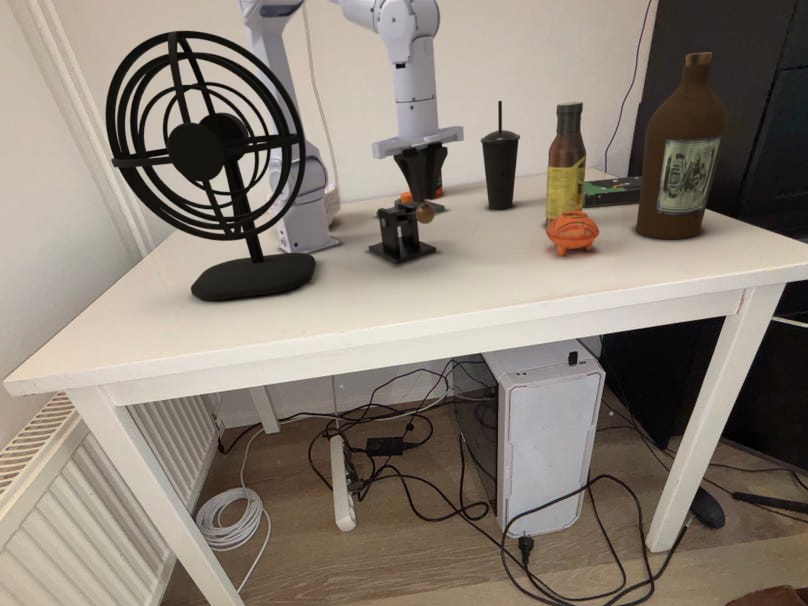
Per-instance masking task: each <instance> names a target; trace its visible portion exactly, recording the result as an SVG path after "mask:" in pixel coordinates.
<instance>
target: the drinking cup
mask: <svg viewBox="0 0 808 606" xmlns="http://www.w3.org/2000/svg"><path fill="white" fill-rule="evenodd" d="M497 111H498V112H497V114H498V115H497V117H498V119H497V121H498V123H497V124H498V125H497V126H498V127H497V128H498V129H497V130H494V131H492V132H490V133H487V134H486V135H485V136H484V137H481V138H480V143H481V146H482V147H481V148H482V155H483V165H484V174H485V184H486V193H487V202H488V209H489V210H491V211H506V210H509V209H512V207H513V201H514V192H515V182H516V171H517V160H518V150H519V141H520V139H521V135H520V134H519V133H516V132H513V131H511V130H507V129H503V100H498V102H497Z"/></svg>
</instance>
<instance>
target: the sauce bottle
mask: <svg viewBox="0 0 808 606" xmlns="http://www.w3.org/2000/svg"><path fill="white" fill-rule="evenodd" d="M583 110H584V102H583V101H569V102H563V103H558V104H557V105H556V112H555V114H556V117H557V120H556V121H557V122H556V131H555V133H556V135H555V137H554V139H553V141H551V144H550V146H549V149H548V161H547V162H548V163H547V171H546V192H545V194H546V195H545V196H546V198H545V217H546V218H545V225H546V227H547V226H548V225H549V224H550V223H551V222H552V221H553V220H554V219H555V218H557V217H559V216H561V215H562V213H563V212H564V213H565V212H569V211H581V212H583V206H582V205H583V192H584V182H585V179H586V165H587V150H586V147H585V144H584V138H583V135H582V132H581V125H582V124H581V123H582V114H583Z"/></svg>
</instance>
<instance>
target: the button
mask: <svg viewBox="0 0 808 606" xmlns="http://www.w3.org/2000/svg"><path fill="white" fill-rule="evenodd" d="M399 196H400V198H401V203H412V202H414V201H413V198H412V195H411V192H410V191H405V192H402V193H400V194H399Z"/></svg>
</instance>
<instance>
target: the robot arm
mask: <svg viewBox="0 0 808 606" xmlns="http://www.w3.org/2000/svg"><path fill="white" fill-rule="evenodd" d="M326 1H327V2H330V3H332V4H335V5H338V6H340V9H341V12H342V15H343V17H344V18H345V19H346V20H347V21H349V22H351V23H353V24H355V25H357V26H360V27H362V28H364V29H366V30H368V31H371V32H373V33H375V34H377V35H379V36H380V39H381V40H382V42H383V43H384V44H385V47H386V50H387V58H388V59H389V62H390V63H391V64H390V65H391V74H392V84H393V93H394V101H395V103H394V105H395V112H396V122H397V130H398V131H397V133H398V135H397V136H394V137H390V138H387V139H384V140H380V141H375V142H372V143H371V151H372V158H373V159H377V160H383V159H386V158H387V157H391V156H392V157H393V161H394V162H395V164H396V165H397V166H398V168H399V170H400V172H401V173H402V175H403V177H404V179H405V181H406V184H407V187H408V189H409V192H411V195H412V198H413V201H414V202H417V203H423V202H424V198H426V199H427V200H430V201H432V200H436V198H435V196H436V189H437V184H438V179H439V175H440V172H441V170H442V168H443V165H444V164H445V161H446V159H447V156H448V154H449V151H448V146H443V145H444V144H451V143H454V142H463V141H465V136H464V135H465V134H464V126H463V125H453V126H447V127H439V116H438V113H439V112H438V100H437V97H438V96H437V82H436V67H435V65H436V64H435V54H434V53H435V50H434V39H435V38H436V36H437V34H438V33H439V30H440V25H441V11H440V6H439V4H438V2H437V0H326ZM236 2H237V4H238V8H239V12H240V16H241V19H242V23H243V25H244V30H245V35H246V38H247V42H248V46H249V49H250V52H251V53H252V54H254V55H255V56H256V57H257V58H259V59H260V60H261V61H262V62H263V63H264V64H265V65H266V66H267V67H268V68H269V69H270V70H271V71H272V72H273V73H274V74H275V75H276V77H277V78H278V79H279V80H280V82H281V83H282V85H283V86H284V87H285V89H286V91H287V92H288V94H289V96H290V97H291V99H292V101H293V103H294V105H295V108H296V110H297V112H298V115H299V118H300V121H301V124H302V128H303V132H304V137H305V145H306V166H305V173H304V178H303V182H302V185H301V188H300V191H299V193H298V195H297V197H296V199H295V201H294V203H293V204H292V206H291V207H290V209H289V210H288V211H287V213H286V214H285V215H284V216H283V217H282V218H281V219H280V220H279V221H278V222H277V223H276V224H275V229H276V231H277V235H278V240H279V243H280V245H279V248H280V249H282V250H283V251H285V253H305V254H310V253H313V252H316V251H320V250H322V249H327V248H330V247H333V246H337V245H339V244H340V241H339V240H337V239H335V238H333V237H331V232H330V226H328V222H327V216H326V211H325V206H324V201H323V195H324V194H325V190H324V189H325V188H326V187H327V184H328V183H329V173H328V168H327V167H326V164H325V163H324V161H323V159H322V156H321V153H320V149H319V148H318V147H317V146H316V145H314V143H312V142H310V141H309V140H307V136H306V133H305V128H304V124H303V119H302V115H301V110H300V107H299V103H298V99H297V94H296V91H295V86H294V81H293V78H292V73H291V69H290V64H289V60H288V57H287V52H286V48H285V43H284V40H283V32H284V30H285V29H286V26H287V24H289V23H290V22H291V20H292V19H293V18H294V17H295V15H296V14H297V13H298V12H299V11H300V10H301V8H302V7H303V6H304V5H305V4H306V2H307V0H237V1H236ZM254 68H255V72H256V77H257V78H259V79H260V80H261V81H262V82H263V83H264V85H265V86H266V87H267V88H268V89H269V90H270V92H271V93H272V94H273V96H274V97H275V99H276V100H277V102H278V104H279V106H280V107H281V109H282V111H283V114H284V116H285V118H286V121H287V124H288V127H289V131H290V134H291V133H297V132H296V129H295V125H294V122H293V119H292V116H291V114H290V112H289V109H288V107H287V105H286V103H285V101H284V100H283V98H282V96H281V95H280V93H279V92H278V90H277V89H276V87H275V86H274V85H273V83H272V82H271V81H270V80H269V79H268V77H267V76H266V75H265V74H264V73H263V72H262V71H261V70H260V69H259V68H258V67H256V66H255V65H254ZM265 109H266V114H267V116H268V117H267V118H268V120H269V125H270V129H271V132H272V135H275V134H278V131H277V128H276V125H275V123H274V121H273V118H272V116H271V114H270V112H269V111H268V109H267V107H266V106H265ZM281 168H282V150H281V148H276V149H272V150H271V156H270V161H269V165H268V168H267V169H268V183H269V188H270V190H271V193H273V194H274V192H275V190H276V188H277V185H278V182H279V179H280V174H281ZM298 170H299V144H294V145H292V164H291V170H290V174H289V177H288V180H287V182H286V185H285V187H284V189H283V190H282V192H281V194H280V195H279V196H278V198H277V199H278V200H280V202H281V203H283V204H281V205H278V206H275V207H274V208H273V215H274V217H275V216H276V215H277V214H278V213H279V212H280V211H281V210H282V208H283V207H284V206H285V205H286V203H287V202H288V200H289V198H290V196H291V194H292V192H293V189H294V187H295V184H296V180H297V176H298Z"/></svg>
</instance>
